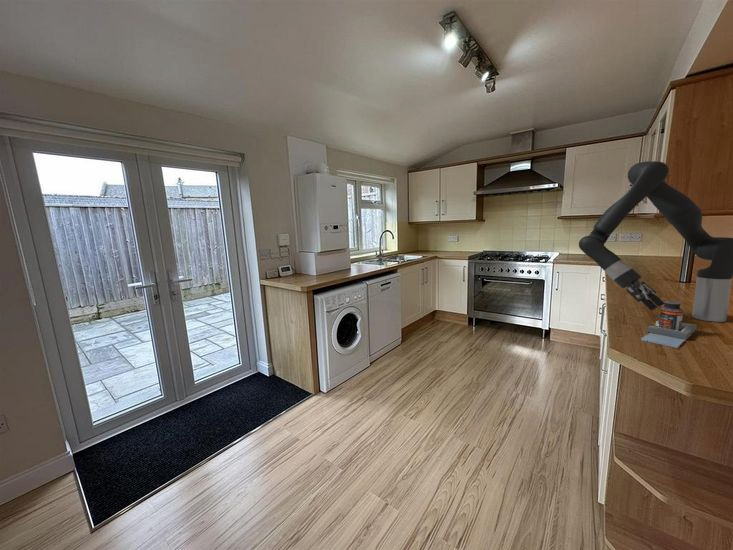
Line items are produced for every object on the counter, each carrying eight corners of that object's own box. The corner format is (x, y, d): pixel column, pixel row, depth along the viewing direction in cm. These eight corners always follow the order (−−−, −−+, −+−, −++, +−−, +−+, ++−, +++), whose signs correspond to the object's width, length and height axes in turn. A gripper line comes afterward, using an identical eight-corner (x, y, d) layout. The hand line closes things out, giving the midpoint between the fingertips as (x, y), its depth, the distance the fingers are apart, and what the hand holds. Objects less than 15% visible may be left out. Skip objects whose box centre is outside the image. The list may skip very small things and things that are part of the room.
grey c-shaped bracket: (661, 322, 119) (662, 315, 119) (698, 328, 111) (699, 320, 110) (646, 332, 109) (647, 324, 109) (685, 340, 101) (686, 332, 100)
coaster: (649, 334, 107) (649, 332, 107) (684, 341, 100) (684, 339, 100) (640, 340, 103) (641, 338, 102) (677, 348, 95) (677, 346, 95)
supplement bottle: (653, 331, 110) (657, 301, 109) (662, 328, 113) (665, 299, 111) (675, 336, 105) (679, 305, 103) (683, 333, 107) (687, 302, 105)
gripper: (624, 269, 112) (663, 304, 104) (637, 266, 119) (674, 298, 111) (606, 281, 117) (642, 316, 109) (620, 277, 124) (654, 309, 117)
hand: (658, 307), depth 110 cm, fingers open, 8 cm apart
